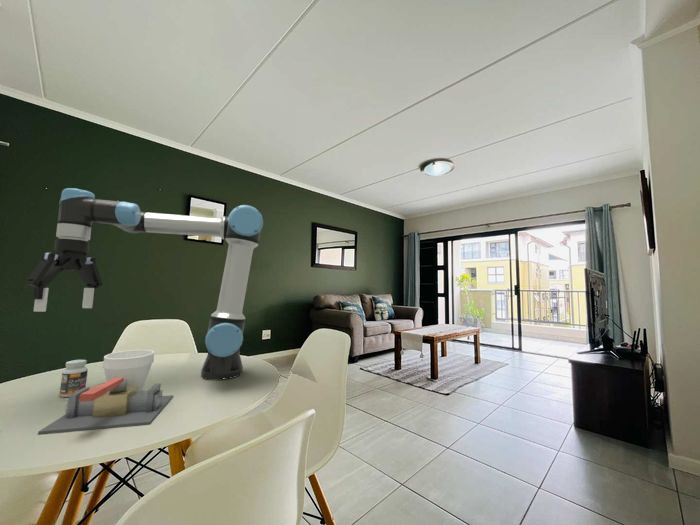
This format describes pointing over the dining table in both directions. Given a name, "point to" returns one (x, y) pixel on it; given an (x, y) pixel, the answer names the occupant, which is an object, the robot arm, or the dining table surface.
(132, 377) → the cup
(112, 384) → the lever
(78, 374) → the pill bottle
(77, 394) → the valve
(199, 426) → the dining table surface
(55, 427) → the mat
